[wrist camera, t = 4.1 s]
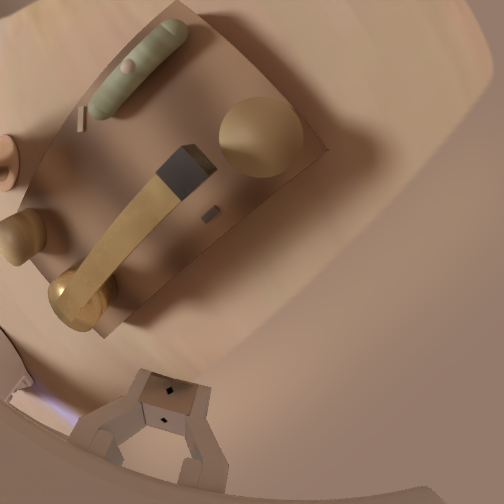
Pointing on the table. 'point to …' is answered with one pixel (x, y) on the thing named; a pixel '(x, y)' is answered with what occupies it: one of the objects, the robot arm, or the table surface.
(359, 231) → the table surface
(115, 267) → the lever handle
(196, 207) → the levelling base
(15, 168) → the beer glass
